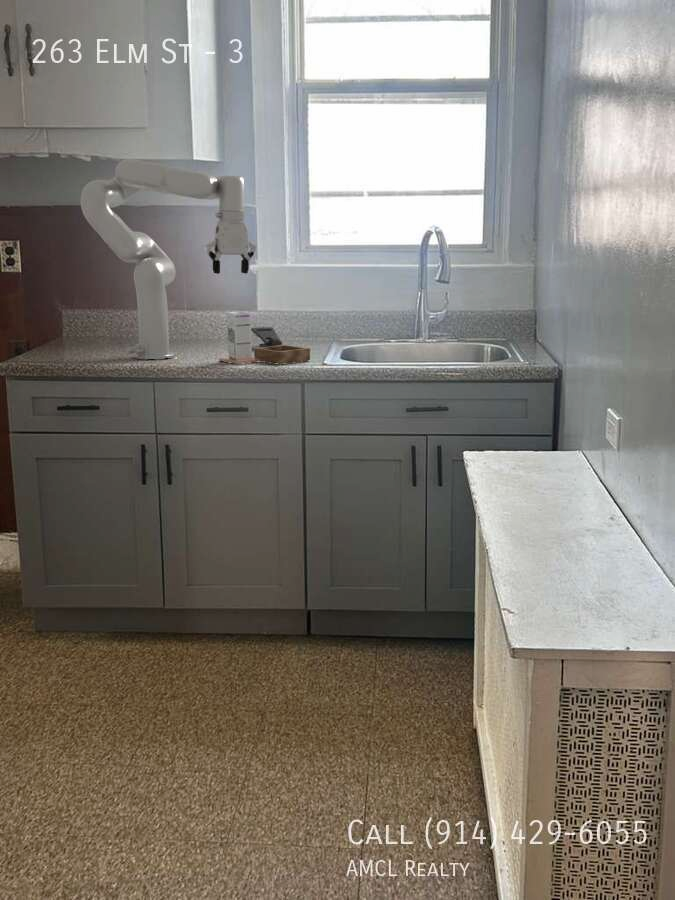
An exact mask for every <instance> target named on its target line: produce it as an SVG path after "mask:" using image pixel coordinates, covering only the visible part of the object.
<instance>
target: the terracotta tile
mask: <svg viewBox="0 0 675 900" xmlns="http://www.w3.org/2000/svg"><path fill="white" fill-rule="evenodd" d="M219 361H223V362H222V363H224V362H231V363H237V364H242V363H249V362H257V361H261V359H259V358H254V356H252V359H244V360H235V359H232V358H229V356H227V357H219V358H218V362H219ZM231 363H230V364H231ZM237 364H236V365H237ZM242 365H243V364H242Z"/></svg>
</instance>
